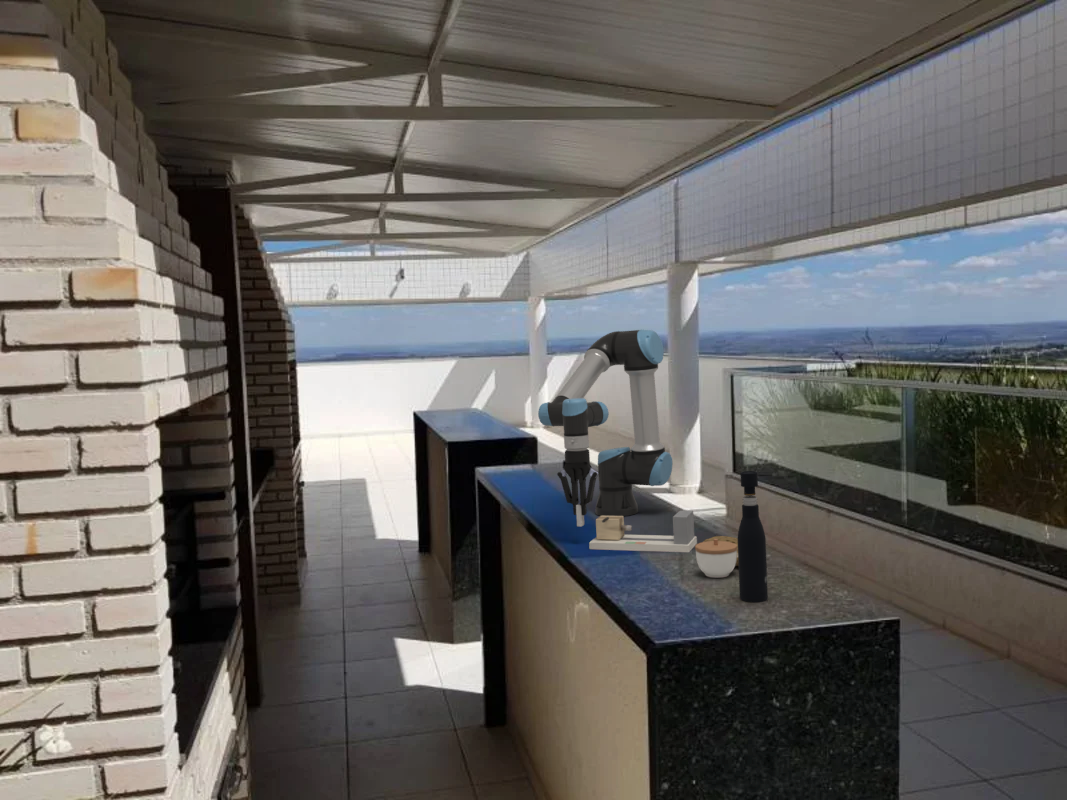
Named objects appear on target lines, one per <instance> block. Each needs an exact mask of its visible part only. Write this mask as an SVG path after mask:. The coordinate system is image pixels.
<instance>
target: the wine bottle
mask: <svg viewBox="0 0 1067 800" xmlns="http://www.w3.org/2000/svg"><path fill="white" fill-rule="evenodd" d="M758 479H759V478H758V471H755V470H754V471H753V470H747V471H746V470H745V471H741V472H740V487H742V488H743V495H744V496H743V497H742V500H743V501H742V503H743V504H742V505H741V514H742V515H741V516H742V517H741V520H740V523H739V527H738V531H737V532H738V533H737V537H736V538H737V539H738V564H739V566H738V585H739V599H740V600H741V601H743V602H745V603H746V602H747V603H762V602H765V601H768V599H769V593H768V570H767V568H768V567H767V544H766V543H767V542H766V534H765V530H764V526H763V523H762V521H761V518H760V516H759V515H760V512H759V505H758V498H757V496H755V495H756V487H758V486H759V481H758Z"/></svg>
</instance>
